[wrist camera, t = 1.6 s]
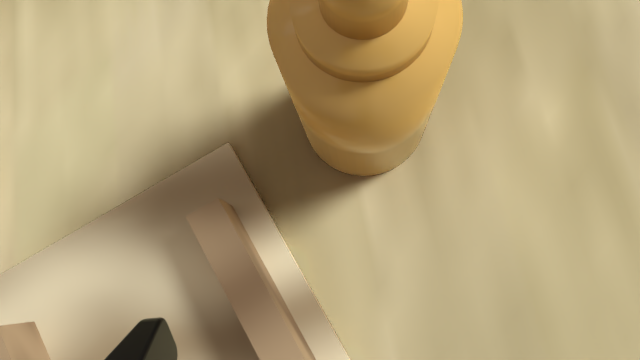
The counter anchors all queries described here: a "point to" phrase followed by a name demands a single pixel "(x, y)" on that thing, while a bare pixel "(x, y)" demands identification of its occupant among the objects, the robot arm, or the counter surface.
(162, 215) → the u rest
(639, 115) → the counter surface
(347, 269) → the counter surface
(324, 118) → the amber bottle
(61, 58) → the counter surface
